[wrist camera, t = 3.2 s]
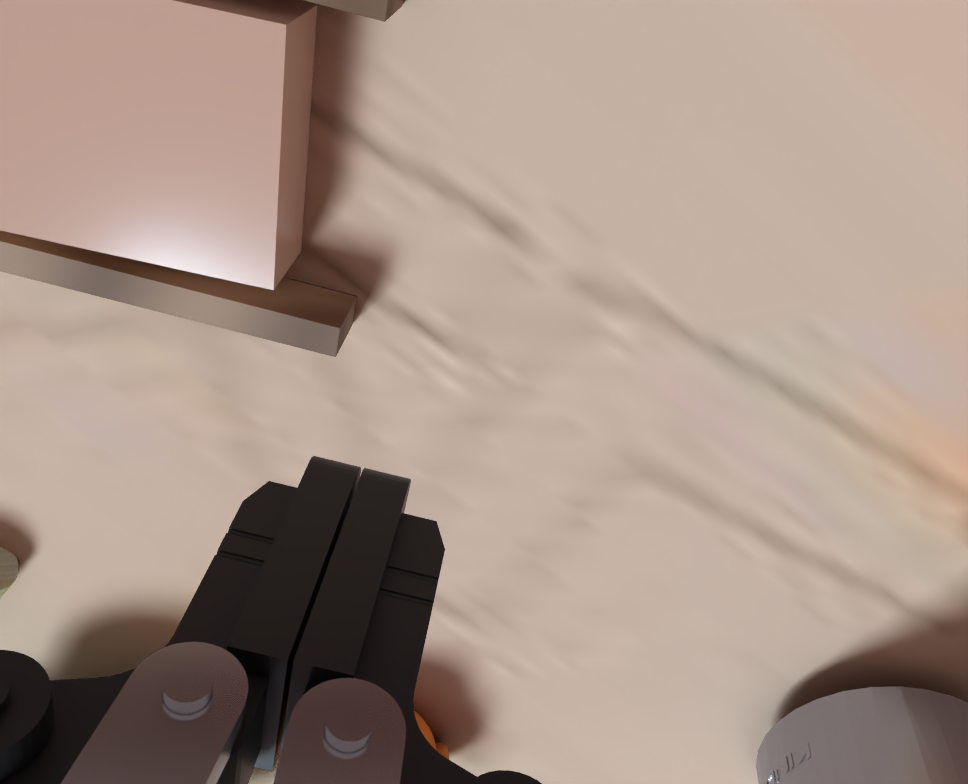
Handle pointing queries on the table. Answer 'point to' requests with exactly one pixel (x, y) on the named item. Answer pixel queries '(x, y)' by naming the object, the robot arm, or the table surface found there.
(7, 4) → the pink flat slab
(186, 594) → the table surface
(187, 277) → the wooden crate
